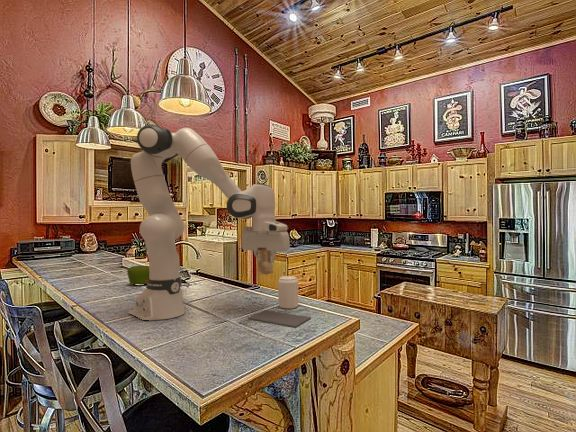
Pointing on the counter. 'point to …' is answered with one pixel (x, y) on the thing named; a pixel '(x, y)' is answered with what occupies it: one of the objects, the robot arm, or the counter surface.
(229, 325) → the counter surface
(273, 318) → the rubber mat
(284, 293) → the beverage can
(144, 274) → the green pot
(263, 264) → the maple block
